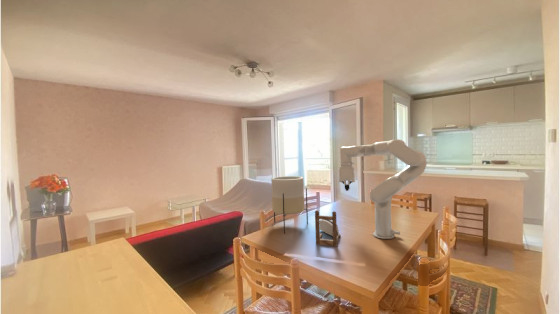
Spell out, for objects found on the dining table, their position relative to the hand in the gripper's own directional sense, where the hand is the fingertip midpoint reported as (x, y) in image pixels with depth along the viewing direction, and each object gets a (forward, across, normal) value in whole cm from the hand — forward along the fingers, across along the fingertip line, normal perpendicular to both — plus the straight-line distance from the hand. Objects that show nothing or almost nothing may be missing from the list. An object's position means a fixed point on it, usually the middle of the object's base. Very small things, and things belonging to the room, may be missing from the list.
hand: (347, 190), depth 160 cm
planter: (+27, +44, +6) cm, 52 cm away
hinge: (+28, +11, +14) cm, 33 cm away
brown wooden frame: (+27, +10, +28) cm, 40 cm away
